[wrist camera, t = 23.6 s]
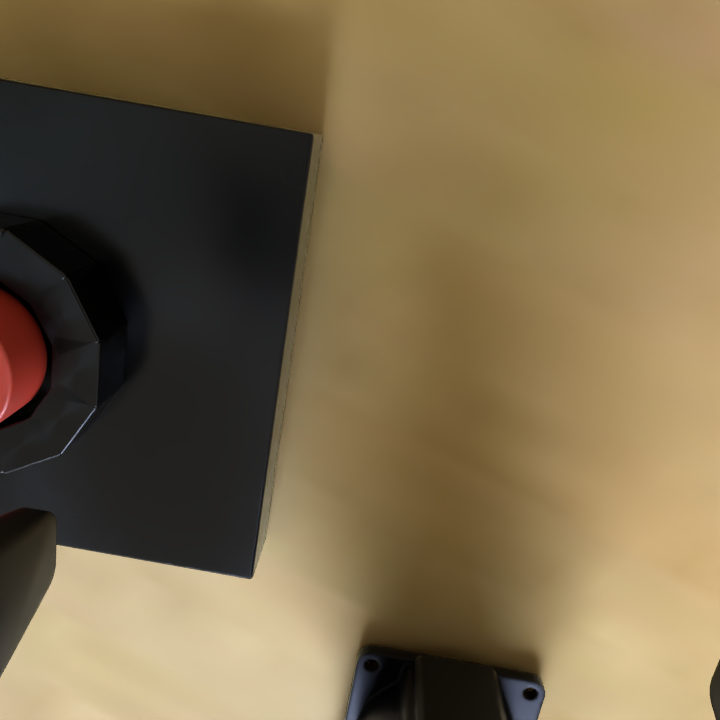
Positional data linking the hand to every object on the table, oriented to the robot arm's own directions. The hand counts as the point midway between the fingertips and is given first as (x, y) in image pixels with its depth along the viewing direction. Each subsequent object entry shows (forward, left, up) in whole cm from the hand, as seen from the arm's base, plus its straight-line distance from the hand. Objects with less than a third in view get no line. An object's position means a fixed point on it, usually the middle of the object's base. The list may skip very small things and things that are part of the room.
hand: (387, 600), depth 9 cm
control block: (-1, +8, -12) cm, 14 cm away
